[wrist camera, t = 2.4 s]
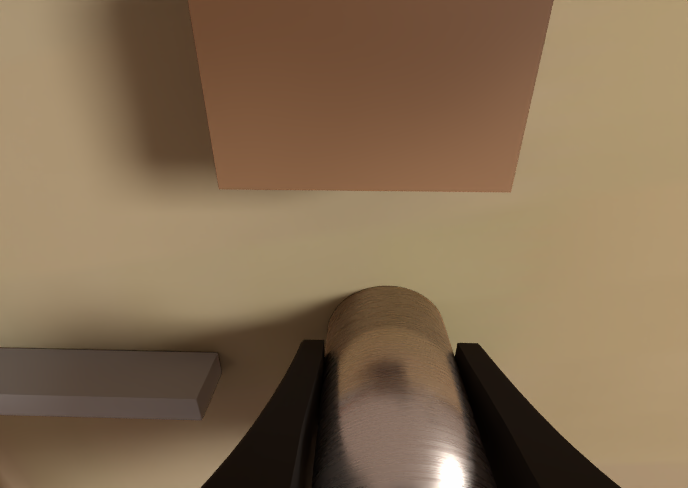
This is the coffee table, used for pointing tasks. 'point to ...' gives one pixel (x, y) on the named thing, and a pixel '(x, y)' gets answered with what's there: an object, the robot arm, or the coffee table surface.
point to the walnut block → (368, 91)
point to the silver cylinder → (394, 400)
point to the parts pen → (107, 383)
